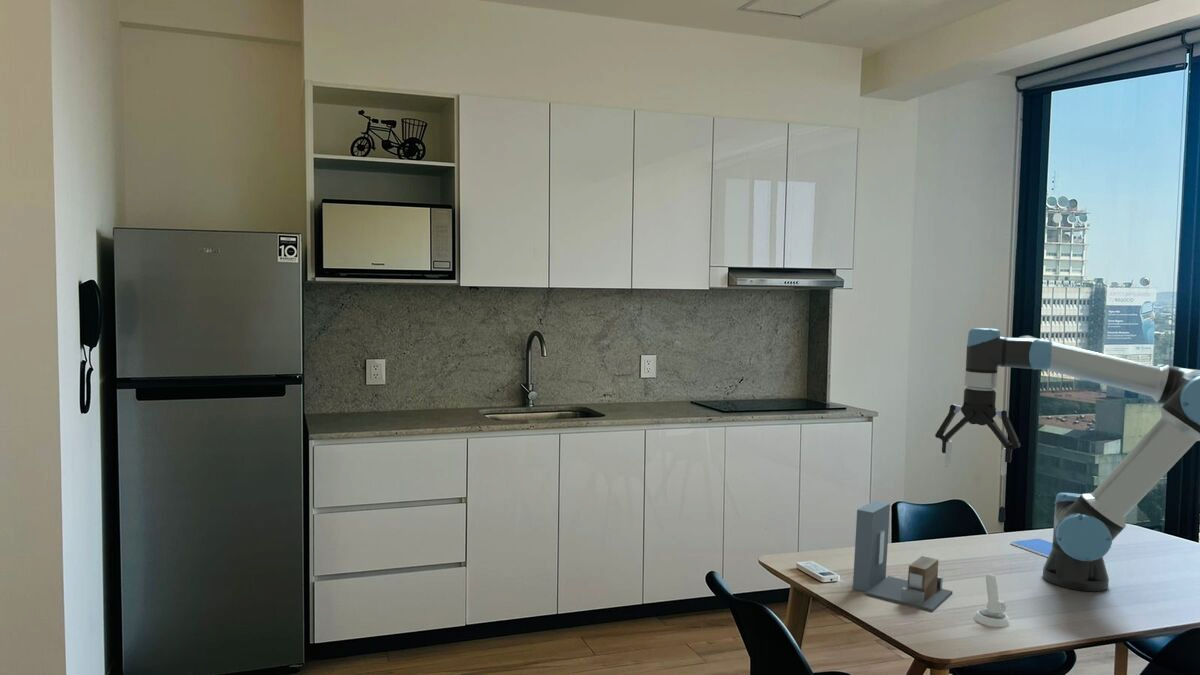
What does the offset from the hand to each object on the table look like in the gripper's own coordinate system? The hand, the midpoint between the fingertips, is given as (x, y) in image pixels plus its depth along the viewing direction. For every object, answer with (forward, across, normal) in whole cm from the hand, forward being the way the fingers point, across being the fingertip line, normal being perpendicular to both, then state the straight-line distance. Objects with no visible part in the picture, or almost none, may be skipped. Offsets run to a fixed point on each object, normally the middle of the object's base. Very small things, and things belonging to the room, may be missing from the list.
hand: (974, 470), depth 227 cm
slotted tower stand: (+29, +10, +22) cm, 38 cm away
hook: (+29, -12, +26) cm, 41 cm away
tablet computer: (+29, -12, -43) cm, 53 cm away
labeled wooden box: (+28, +5, +22) cm, 36 cm away
